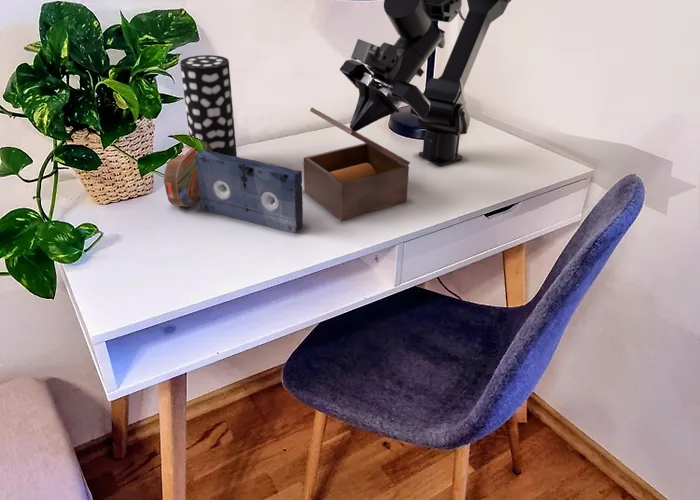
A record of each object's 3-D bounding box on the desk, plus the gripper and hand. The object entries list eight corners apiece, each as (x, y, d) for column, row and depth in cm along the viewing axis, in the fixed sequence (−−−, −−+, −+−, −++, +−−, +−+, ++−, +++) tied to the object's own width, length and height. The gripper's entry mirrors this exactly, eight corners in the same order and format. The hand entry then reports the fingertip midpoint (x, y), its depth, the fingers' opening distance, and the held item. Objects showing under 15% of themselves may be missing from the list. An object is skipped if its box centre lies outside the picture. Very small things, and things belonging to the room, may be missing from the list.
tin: (183, 215, 103) (176, 168, 98) (165, 213, 103) (157, 167, 99) (217, 177, 115) (213, 134, 111) (201, 176, 116) (196, 133, 112)
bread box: (341, 221, 102) (341, 184, 99) (304, 192, 111) (303, 157, 107) (406, 201, 108) (409, 166, 105) (366, 175, 117) (367, 142, 114)
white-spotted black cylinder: (184, 171, 118) (170, 64, 107) (209, 155, 124) (198, 53, 114) (222, 179, 115) (211, 70, 104) (245, 162, 122) (237, 58, 111)
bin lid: (350, 134, 95) (352, 130, 95) (309, 110, 104) (311, 107, 104) (408, 166, 105) (410, 162, 105) (366, 141, 114) (368, 138, 113)
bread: (361, 183, 113) (361, 158, 110) (378, 195, 109) (379, 168, 106) (323, 194, 109) (322, 167, 106) (339, 206, 105) (339, 179, 102)
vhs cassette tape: (304, 227, 100) (302, 170, 95) (294, 235, 98) (292, 177, 93) (211, 202, 107) (204, 148, 102) (200, 209, 105) (193, 154, 100)
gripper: (350, 9, 103) (293, 85, 103) (421, 32, 90) (355, 119, 90) (386, 52, 111) (333, 122, 111) (456, 78, 98) (396, 158, 98)
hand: (352, 129), depth 103 cm, fingers closed
